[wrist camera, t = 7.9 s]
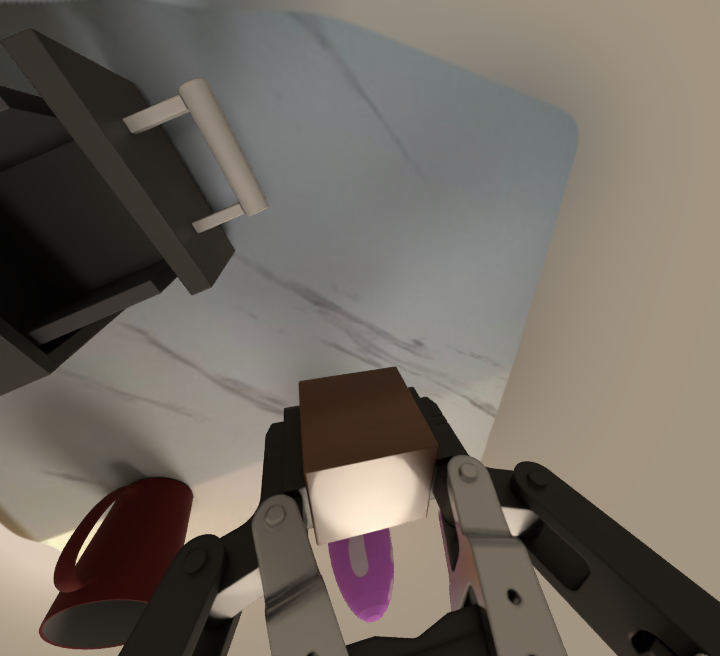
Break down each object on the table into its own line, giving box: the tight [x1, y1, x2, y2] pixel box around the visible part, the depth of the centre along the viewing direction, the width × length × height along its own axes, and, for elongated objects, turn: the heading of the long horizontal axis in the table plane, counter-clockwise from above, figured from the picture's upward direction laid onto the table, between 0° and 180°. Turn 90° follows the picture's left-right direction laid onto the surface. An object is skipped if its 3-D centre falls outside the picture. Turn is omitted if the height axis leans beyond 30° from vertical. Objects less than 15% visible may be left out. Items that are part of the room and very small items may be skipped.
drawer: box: [0, 28, 269, 346], centre depth 16 cm, size 17×10×8 cm, turn 110°
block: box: [299, 367, 438, 545], centre depth 11 cm, size 4×4×4 cm
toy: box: [328, 528, 394, 622], centre depth 32 cm, size 7×7×15 cm
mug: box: [39, 478, 193, 650], centre depth 28 cm, size 12×9×11 cm
